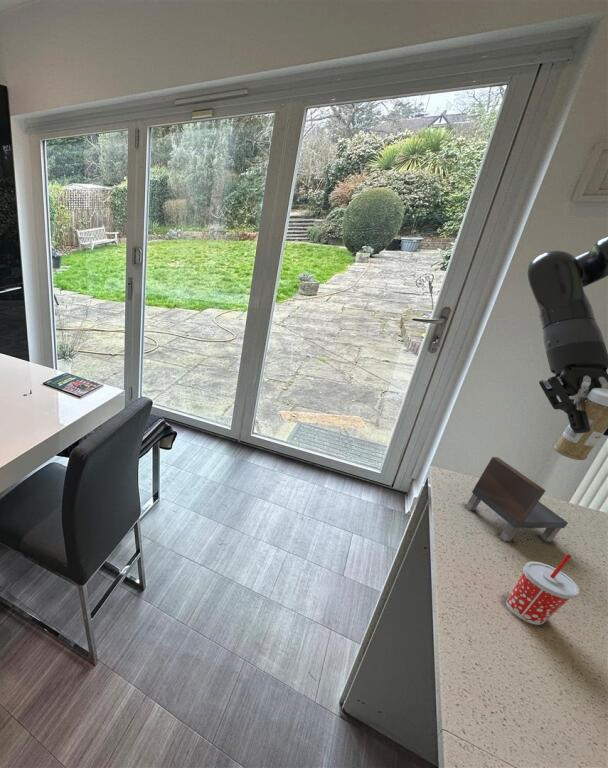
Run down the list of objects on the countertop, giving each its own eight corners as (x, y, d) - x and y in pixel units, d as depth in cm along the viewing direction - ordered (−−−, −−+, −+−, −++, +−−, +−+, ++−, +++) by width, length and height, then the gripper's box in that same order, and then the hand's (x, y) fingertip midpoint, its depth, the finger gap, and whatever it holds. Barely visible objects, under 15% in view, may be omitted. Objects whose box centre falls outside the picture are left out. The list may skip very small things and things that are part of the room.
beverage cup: (554, 620, 67) (604, 562, 61) (539, 638, 64) (591, 579, 58) (507, 591, 72) (549, 534, 65) (492, 606, 69) (534, 548, 63)
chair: (506, 508, 90) (539, 457, 84) (551, 544, 82) (592, 491, 75) (462, 507, 90) (492, 456, 84) (503, 544, 81) (539, 490, 75)
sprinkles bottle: (589, 464, 76) (636, 401, 70) (556, 455, 78) (598, 394, 72) (580, 451, 79) (623, 391, 73) (548, 443, 81) (588, 384, 75)
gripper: (553, 336, 76) (576, 426, 71) (638, 341, 75) (667, 433, 70) (516, 351, 83) (534, 434, 78) (593, 356, 82) (616, 440, 77)
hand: (597, 433), depth 74 cm, fingers closed on sprinkles bottle, 4 cm apart
